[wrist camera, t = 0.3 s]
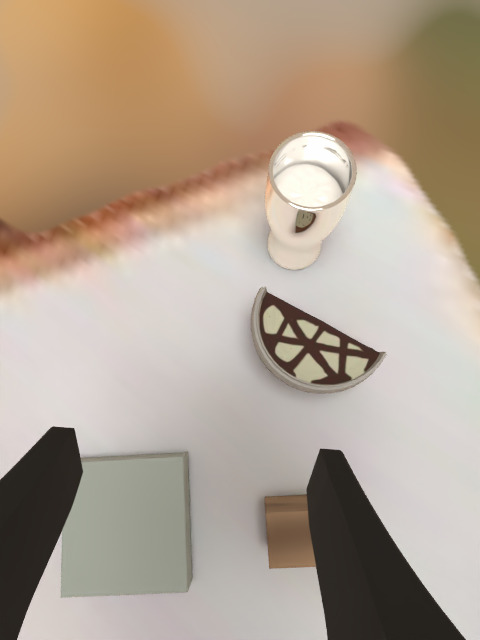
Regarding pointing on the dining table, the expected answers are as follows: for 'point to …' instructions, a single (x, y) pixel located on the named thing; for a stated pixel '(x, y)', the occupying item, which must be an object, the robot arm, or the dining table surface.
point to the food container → (308, 348)
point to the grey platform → (129, 527)
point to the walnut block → (288, 532)
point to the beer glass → (306, 195)
